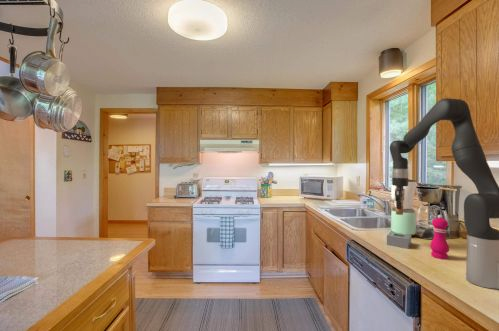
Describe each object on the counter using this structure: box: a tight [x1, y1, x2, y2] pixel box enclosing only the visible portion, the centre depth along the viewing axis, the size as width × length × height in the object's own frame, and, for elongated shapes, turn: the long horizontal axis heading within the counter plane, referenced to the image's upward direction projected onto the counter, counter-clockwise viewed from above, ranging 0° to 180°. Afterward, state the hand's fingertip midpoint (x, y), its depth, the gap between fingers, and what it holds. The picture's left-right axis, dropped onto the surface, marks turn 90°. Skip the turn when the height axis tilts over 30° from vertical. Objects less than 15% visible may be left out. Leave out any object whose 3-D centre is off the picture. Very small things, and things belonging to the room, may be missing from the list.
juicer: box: [390, 178, 417, 237], centre depth 154 cm, size 19×13×35 cm
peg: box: [396, 198, 403, 215], centre depth 136 cm, size 3×3×10 cm
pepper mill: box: [429, 214, 450, 260], centre depth 118 cm, size 7×7×20 cm
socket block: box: [386, 231, 412, 250], centre depth 136 cm, size 10×10×5 cm
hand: (399, 208), depth 136 cm, fingers closed on peg, 3 cm apart
